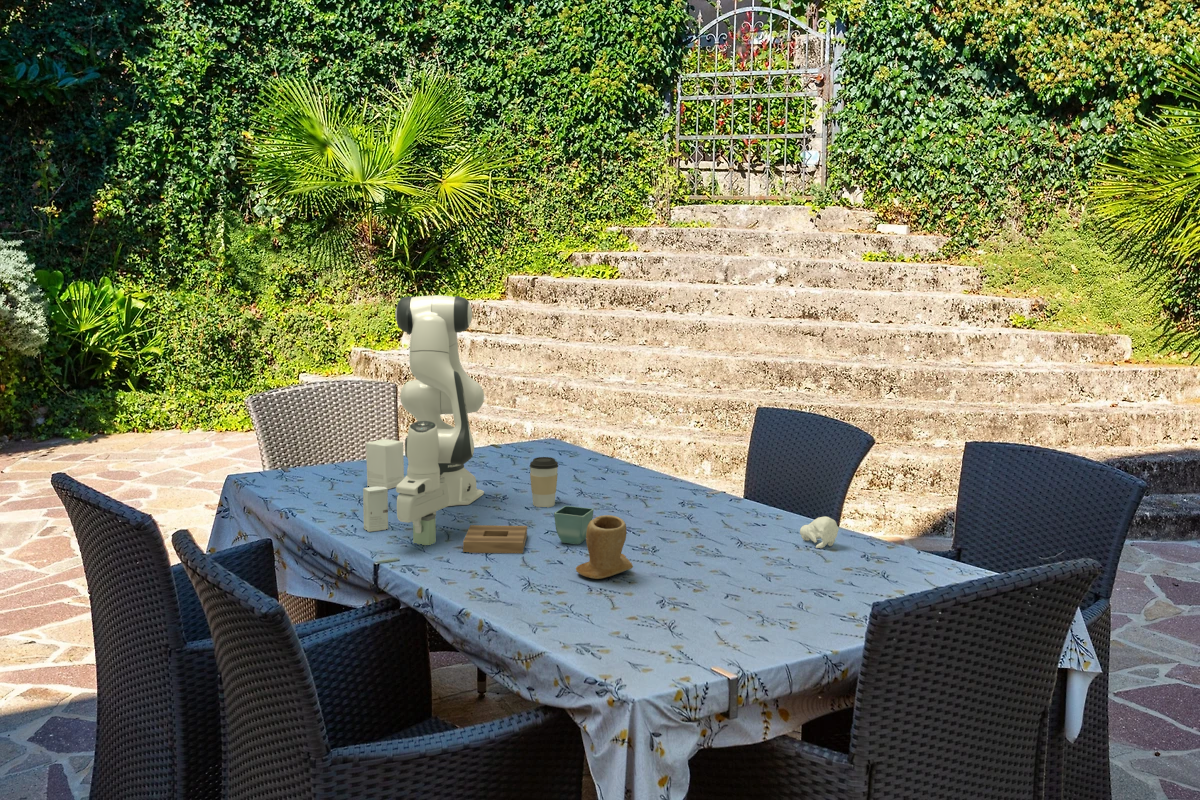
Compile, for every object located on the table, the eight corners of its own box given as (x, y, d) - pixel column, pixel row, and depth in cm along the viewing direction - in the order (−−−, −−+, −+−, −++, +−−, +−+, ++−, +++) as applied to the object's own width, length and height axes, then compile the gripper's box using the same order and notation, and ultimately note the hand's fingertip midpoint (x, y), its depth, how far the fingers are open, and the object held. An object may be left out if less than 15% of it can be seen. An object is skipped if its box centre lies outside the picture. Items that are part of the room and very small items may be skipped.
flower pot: (594, 539, 306) (594, 508, 304) (583, 547, 297) (583, 516, 296) (564, 535, 309) (564, 505, 307) (553, 544, 300) (553, 512, 299)
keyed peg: (420, 540, 303) (420, 512, 301) (435, 542, 301) (435, 514, 299) (413, 543, 300) (412, 515, 298) (428, 545, 298) (428, 517, 296)
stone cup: (601, 586, 266) (601, 527, 264) (569, 574, 275) (569, 517, 273) (645, 573, 277) (646, 516, 274) (613, 562, 285) (614, 507, 283)
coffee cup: (524, 506, 339) (524, 459, 337) (536, 499, 347) (537, 453, 345) (550, 509, 336) (551, 462, 333) (562, 502, 344) (563, 456, 342)
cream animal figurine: (823, 520, 296) (793, 514, 306) (824, 551, 296) (793, 543, 306) (840, 516, 299) (809, 510, 309) (841, 547, 300) (810, 540, 310)
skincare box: (368, 532, 309) (367, 491, 307) (363, 528, 313) (361, 487, 311) (389, 529, 313) (388, 488, 311) (383, 525, 316) (382, 485, 314)
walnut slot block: (470, 535, 308) (470, 525, 307) (526, 536, 308) (526, 525, 307) (463, 552, 292) (463, 541, 291) (522, 553, 292) (522, 542, 291)
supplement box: (405, 485, 364) (404, 441, 362) (386, 490, 357) (385, 445, 354) (385, 481, 369) (384, 438, 367) (366, 486, 362) (365, 442, 359)
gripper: (435, 472, 308) (435, 519, 310) (392, 487, 290) (393, 538, 292) (454, 474, 305) (454, 522, 308) (411, 490, 287) (412, 541, 289)
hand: (424, 530), depth 300 cm, fingers closed on keyed peg, 3 cm apart
